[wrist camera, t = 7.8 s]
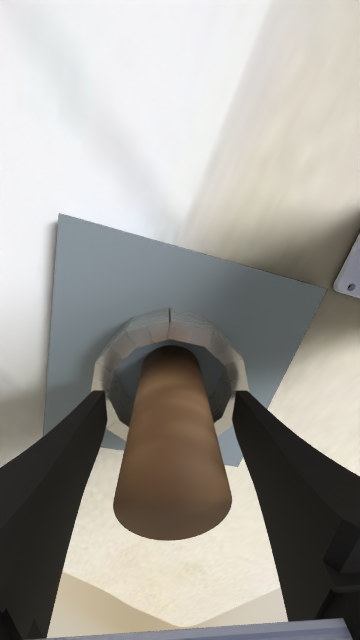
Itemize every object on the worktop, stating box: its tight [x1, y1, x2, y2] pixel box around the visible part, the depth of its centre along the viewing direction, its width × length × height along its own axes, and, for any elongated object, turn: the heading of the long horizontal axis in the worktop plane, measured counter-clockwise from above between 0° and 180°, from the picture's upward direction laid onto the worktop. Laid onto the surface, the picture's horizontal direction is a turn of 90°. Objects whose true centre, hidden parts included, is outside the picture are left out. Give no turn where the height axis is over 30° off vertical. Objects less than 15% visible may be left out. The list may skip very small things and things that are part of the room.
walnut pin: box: [113, 345, 232, 540], centre depth 11 cm, size 4×4×8 cm
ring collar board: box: [43, 213, 328, 467], centre depth 14 cm, size 16×16×4 cm
